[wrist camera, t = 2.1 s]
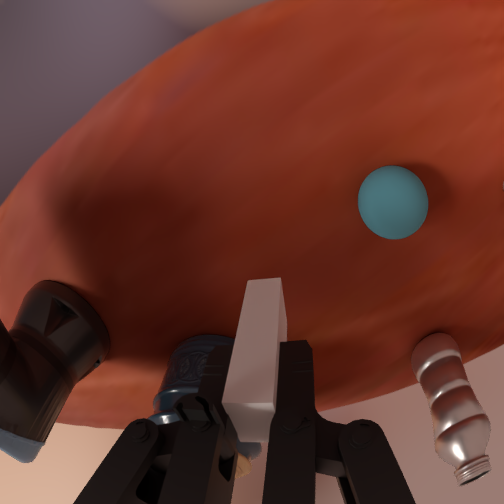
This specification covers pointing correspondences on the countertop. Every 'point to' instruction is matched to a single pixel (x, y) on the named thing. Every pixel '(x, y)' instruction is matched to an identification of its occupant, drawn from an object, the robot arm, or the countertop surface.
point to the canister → (195, 389)
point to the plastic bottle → (452, 407)
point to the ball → (393, 202)
